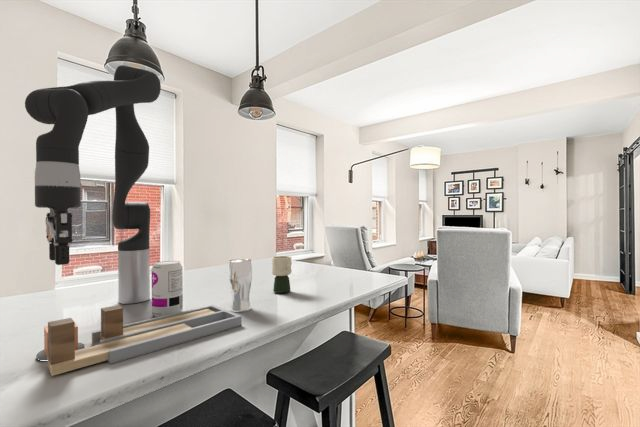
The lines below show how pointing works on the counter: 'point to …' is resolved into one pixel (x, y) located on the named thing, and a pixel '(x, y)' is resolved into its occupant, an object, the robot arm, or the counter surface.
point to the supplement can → (167, 288)
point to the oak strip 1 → (68, 359)
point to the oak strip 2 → (114, 325)
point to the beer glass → (240, 284)
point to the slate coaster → (42, 356)
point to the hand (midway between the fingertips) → (59, 262)
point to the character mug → (281, 273)
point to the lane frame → (198, 329)
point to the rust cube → (47, 339)
